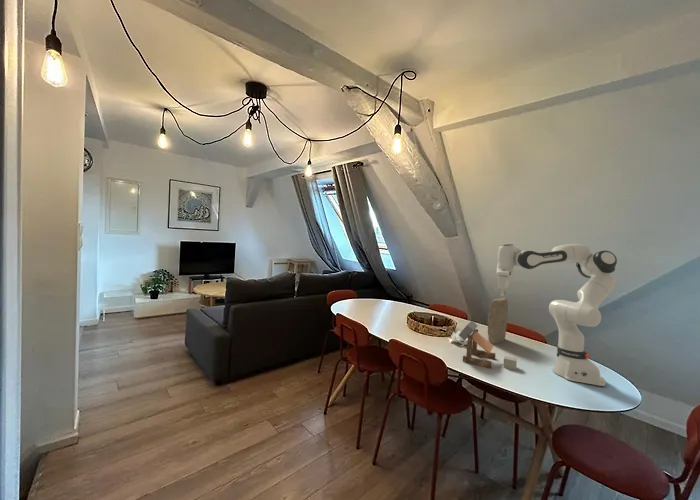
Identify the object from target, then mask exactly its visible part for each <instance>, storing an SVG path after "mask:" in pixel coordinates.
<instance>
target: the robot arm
mask: <svg viewBox="0 0 700 500" xmlns="http://www.w3.org/2000/svg"><path fill="white" fill-rule="evenodd" d="M553 263H555V264H559V265H560V264H562V265H563V264H567V265H568V264H575V266H576V268H577V271H578V272H579V275H581V276H583V278H587V279H588V281H586V282H585V284H583V285H582V286H581V287H580V289H578V290H577V292H576V294H577V295H576V296H577V299H578V301H576V302H575V301H570V300H566V299H554V300H552V301H551V302H550V303H549V305H548V312H549V314H550V315H551V316H552V318H553V319H554V321H555V324H556V326H557V328H558V342H557V343H558V344H557V346H556V353H555V354H556V359H555V362H554V366H553V369H552V372H554V374H556V375H558V376H560V377H561V378H564V379H566V380H568V381H572V382H577V383H584V384H589V385H594V386H600V387H605V386H606V385H607V384H606V379H605V378H604V377H602V376H601V372H600V369H599V367H598V366H597V365H596V364H594V362H592V361H591V360H590V358H591V356H590V354H589V353H588V352H587V351H586V350H584V349H585V348H584V347H585V335H584V334H583V332H582V331H581V330H580V329H579V328H578V326H582V327H587V328H588V327H591V328H595V327H597V326H598V325H599V324H600V323H601V321H602V313H601V311H600V310H599V306H600V305H601V303H602V302H603V301H604V300H605V299H606V298H607V297H608V296H609V294H611V293H612V291H613V290H614V288H615V286H616V282H617V280H616V279H615V277H614V276H613V275H612V274H611V273H614V272H615V270H616V265H617V263H618V259H617V256H616V254H615V253H614V252H612V251H610V250H599V251H596V252H595V253H593V252H591V249H590V247H589V246H588V245H586V244H582V243H567V244H566V243H565V244H561V245H557V246H554V247H553V248H552V249H551V251H546V252H545V251H544V252H536V251H533V250H523V249H520V248H518V247H517V246H516V245H514V244H513V243H512V244H511V243H509V244H502V245H500V246H499V247H498V250H497V264H496V270H495V271H496V275H497V288H498V289H500V290H499V292H500V293H499V295H500V297H504V296H505V295H506V294H507V288H508V287H509V286H510V279H511V276H514V267H518V268H523V269H526V270H533V269H536V268H537V267H540V266H541V265H547V264H553Z"/></svg>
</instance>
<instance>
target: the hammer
mask: <svg viewBox="0 0 700 500" xmlns="http://www.w3.org/2000/svg"><path fill="white" fill-rule="evenodd" d="M477 327H479V325H478V324H476V322H474V321H473V320H471V321H469V322H468V323H467V324H466V326H464V328H463V329H462V330H460V331H461V333H460V334H459V336H460V337H461V338H462V339H464V340H466V339H467V338H468V335H471V336H473V340H472V342H473V341H475V342H476V343H477V346H479V347H480V348H482V349H483V351H486V352H487V353H490V352H492V350H493V349H494V344H491V343H490V342H489V340H487V339H486V338H485V337H484V336H483V335H481V333H479V331H478V332H477V331H474V330H475V329H477ZM473 331H474V332H473Z"/></svg>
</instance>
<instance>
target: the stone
mask: <svg viewBox="0 0 700 500" xmlns="http://www.w3.org/2000/svg"><path fill="white" fill-rule="evenodd" d="M517 365H518V358H517V357H512V356H507V355H504V357H503V365H502V366H503V367H502V368H506V369H509V370H512V371H516V370H517Z"/></svg>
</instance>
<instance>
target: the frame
mask: <svg viewBox="0 0 700 500" xmlns="http://www.w3.org/2000/svg"><path fill="white" fill-rule="evenodd" d="M474 331H477V332H478V333H479V329H477V328H476V329H475V330H474ZM474 331H473V332H474ZM473 332H472V333H473ZM472 355H475V356H479V357H480V356H481V357H484V358H488V359H494V360H496V352H493V351H491V352H490V353H487V352H486V351H485V350H484V349H483V350H482V349H478V344H477V343H476V342H475V341H473V336H471V334H470V335H468V339H467V345H466V355H463V356H462V362H463V363H466V364H467V363H468V364H472V365H475V366H481V367H484V368H488V369H491V368H492V361H490V360H484V359H480V358H476V357H472Z"/></svg>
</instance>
